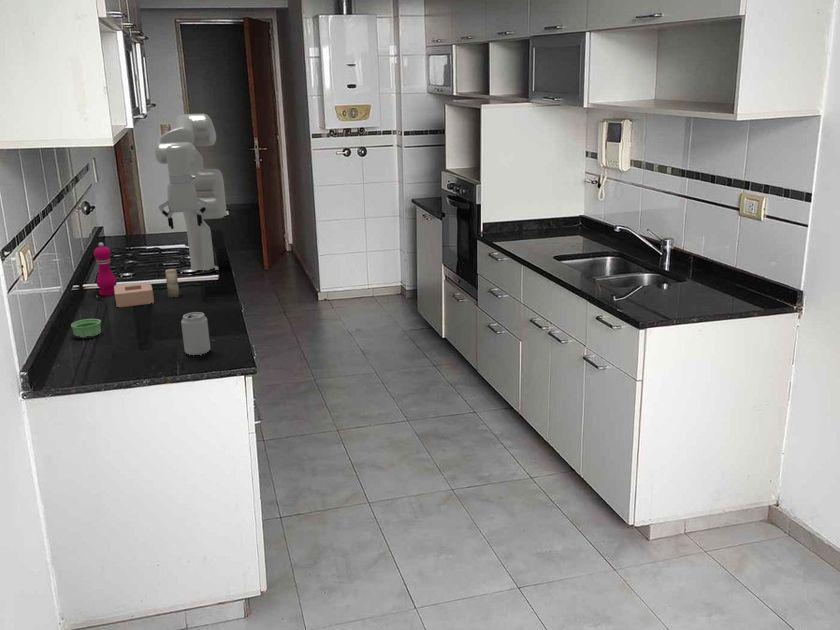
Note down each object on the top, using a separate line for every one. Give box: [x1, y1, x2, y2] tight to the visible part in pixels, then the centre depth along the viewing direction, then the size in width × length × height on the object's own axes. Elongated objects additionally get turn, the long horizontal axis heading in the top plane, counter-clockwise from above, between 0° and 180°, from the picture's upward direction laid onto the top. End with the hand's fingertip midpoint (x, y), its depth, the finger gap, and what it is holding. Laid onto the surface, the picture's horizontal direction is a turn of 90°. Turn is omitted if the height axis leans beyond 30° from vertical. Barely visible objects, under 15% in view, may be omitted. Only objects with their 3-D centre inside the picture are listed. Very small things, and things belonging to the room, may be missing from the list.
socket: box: [114, 281, 155, 308], centre depth 297 cm, size 13×13×5 cm
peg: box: [165, 268, 180, 299], centre depth 301 cm, size 4×4×10 cm
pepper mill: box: [93, 242, 118, 297], centre depth 306 cm, size 7×7×20 cm
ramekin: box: [70, 318, 102, 337], centre depth 259 cm, size 9×9×4 cm
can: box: [180, 311, 211, 357], centre depth 239 cm, size 8×8×12 cm
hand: (185, 227), depth 292 cm, fingers open, 9 cm apart
